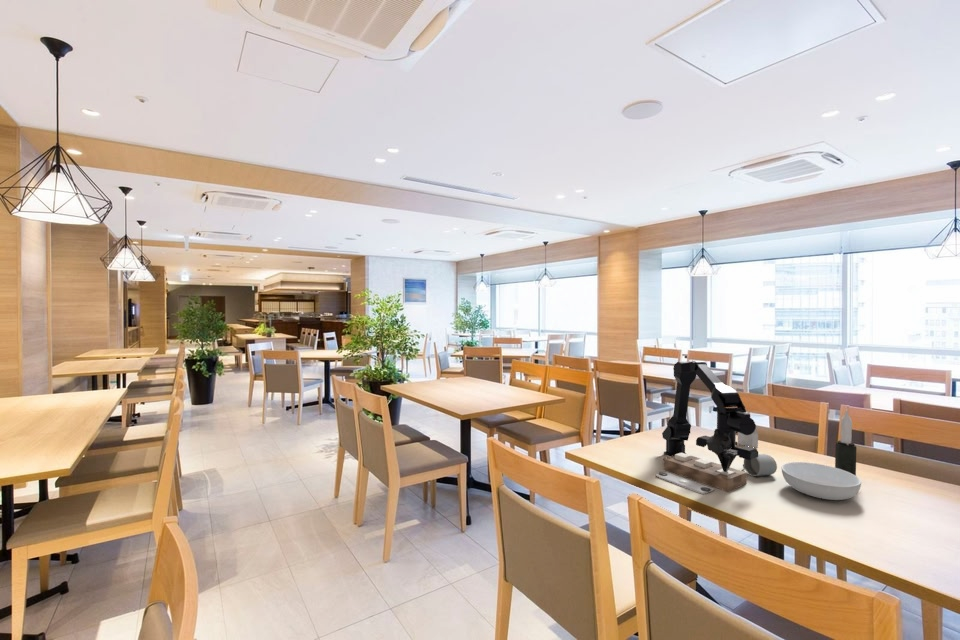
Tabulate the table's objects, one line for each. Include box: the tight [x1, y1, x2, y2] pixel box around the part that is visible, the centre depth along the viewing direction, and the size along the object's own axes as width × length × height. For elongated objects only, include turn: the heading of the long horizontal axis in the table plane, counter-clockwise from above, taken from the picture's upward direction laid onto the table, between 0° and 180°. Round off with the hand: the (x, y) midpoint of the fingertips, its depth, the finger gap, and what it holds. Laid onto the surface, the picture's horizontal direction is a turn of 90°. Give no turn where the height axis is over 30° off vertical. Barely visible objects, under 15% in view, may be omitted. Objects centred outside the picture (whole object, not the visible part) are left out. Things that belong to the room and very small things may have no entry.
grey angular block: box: [737, 427, 759, 448], centre depth 197 cm, size 4×7×10 cm, turn 24°
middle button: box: [695, 458, 713, 469], centre depth 161 cm, size 4×4×3 cm
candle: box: [834, 409, 857, 476], centre depth 157 cm, size 5×5×25 cm
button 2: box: [717, 469, 735, 476], centre depth 154 cm, size 4×4×3 cm
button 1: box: [675, 452, 692, 462], centre depth 168 cm, size 4×4×3 cm
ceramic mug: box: [742, 453, 778, 477], centre depth 164 cm, size 11×8×8 cm
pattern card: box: [655, 471, 714, 495], centre depth 155 cm, size 19×6×1 cm, turn 32°
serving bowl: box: [781, 461, 862, 501], centre depth 146 cm, size 21×21×7 cm
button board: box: [663, 455, 748, 492], centre depth 161 cm, size 24×12×4 cm, turn 32°
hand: (725, 471), depth 154 cm, fingers closed, pressing on button 2
